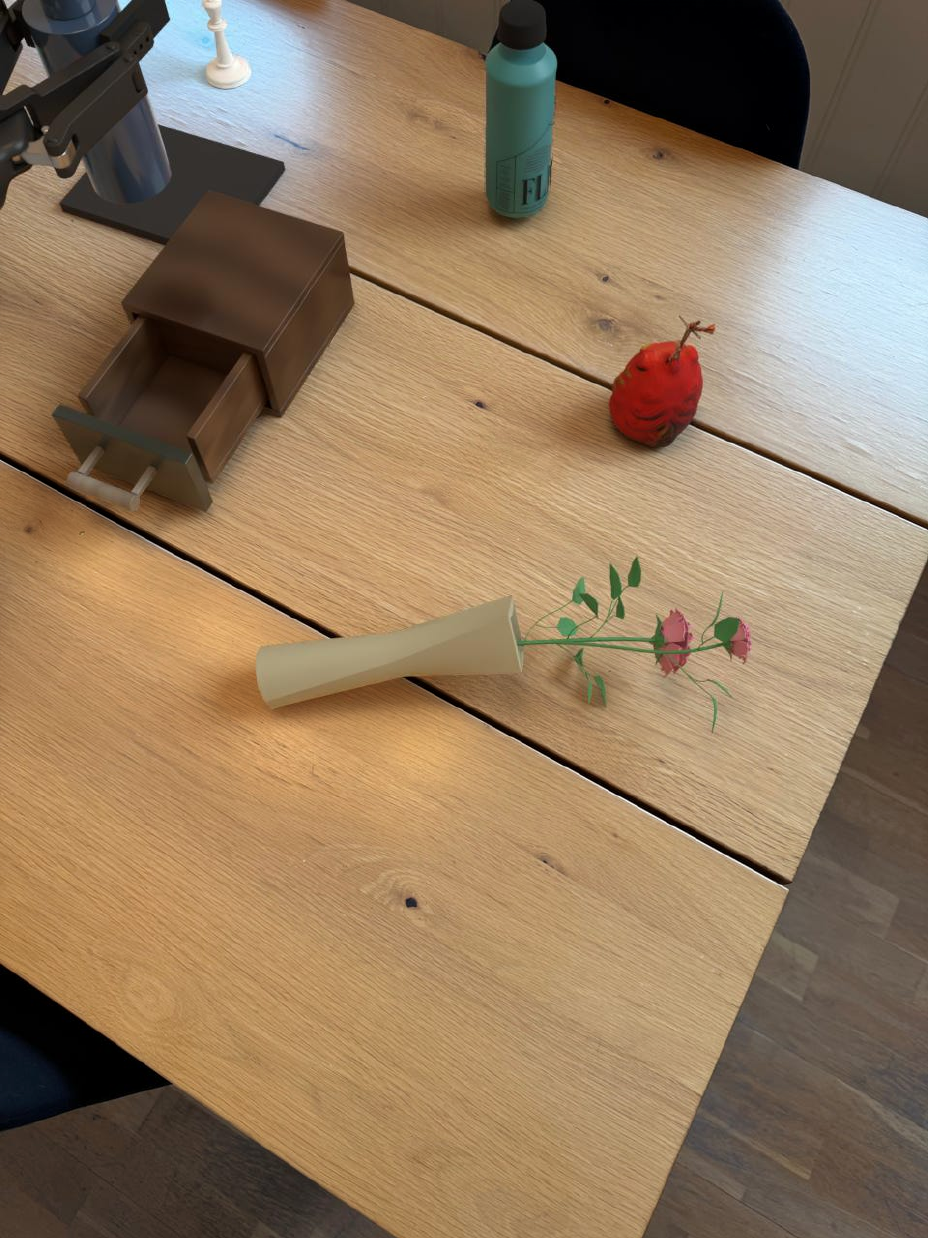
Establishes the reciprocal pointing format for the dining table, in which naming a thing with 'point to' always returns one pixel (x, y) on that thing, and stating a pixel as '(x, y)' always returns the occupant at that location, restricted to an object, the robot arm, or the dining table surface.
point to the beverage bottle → (519, 111)
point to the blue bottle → (132, 149)
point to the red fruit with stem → (659, 390)
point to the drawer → (162, 415)
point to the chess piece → (223, 53)
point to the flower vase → (469, 648)
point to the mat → (181, 186)
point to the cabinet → (251, 287)
